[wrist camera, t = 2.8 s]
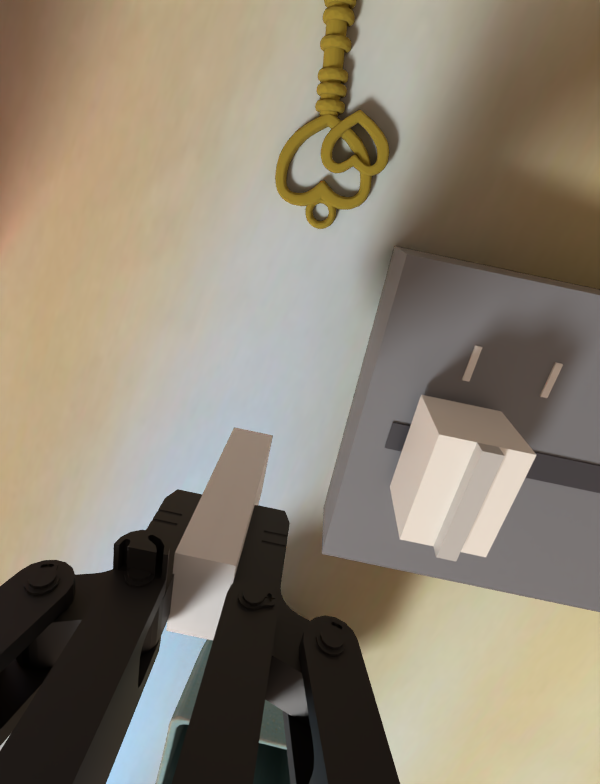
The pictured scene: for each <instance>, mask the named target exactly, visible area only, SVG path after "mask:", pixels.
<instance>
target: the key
mask: <svg viewBox="0 0 600 784" xmlns="http://www.w3.org/2000/svg"><path fill="white" fill-rule="evenodd" d="M324 2H325V6H326V7H327V8H326V9H325V11H324V14H323V21H324V23H325V24H326V36H324V37H323V38H322V40H321V42H320V47H321V49H322V50H323V51H324V60H323V68H322V69H321V70H319V73H318V79H319V81H320V82H322V83H320V84H319V85H318V87H317V94H318V95H319V96H321V97H320V100H318V101H317V103H316V106H315V108H316V110H317V111H318V112H320V116H319V117H318V118H316V119H314V120H312V121H310V122H308V123H307V124H306V125H304V126H303V127H301V128H300V129H298V130H297V131H296V132H295V133H294V134H293V135H292V136H291V138H290V139H289V140H288V141H287V143H286V144H285V146H284V147H283V149H282V151H281V153H280V156H279V159H278V163H277V167H276V176H275V180H276V187H277V191H278V193H279V194H280V196H281V197H282V198H283V199H284V200H285V201H287V202H289V203H290V204H293V205H298V206H306V218H307V221H308V222H309V223H310V224H311V225H312V226H313V227H315V228H318V229H324V228H326V227H328V226H330V225H331V224H332V223H333V221H334V219H335V217H336V209H352V208H355V207H358V206H360V205H361V204H362V203H363V202H364V201H365V200H366V199H367V196H368V194H369V192H370V188H371V180H372V176H373V175H376V174H379V173H380V172H381V171H382V170H383V169H384V168H385V166H386V164H387V162H388V158H389V145H388V142H387V139H386V137H385V135H384V133H383V132H382V131H381V130H380V128H379V127H378V126H377V125H376V124H375V122H374V121H373V120H372V119H370V118H369V117H368V116H367V115H366V114H365V113H364V112H363V111H361V110H358V111H356V112H355V113H353V114H351V115H350V116H348V117H346V118H345V119H344V120H342V121H341V120H340V119H339V118H337V117H338V113H340V114H342V113H343V112H344V110H345V104H344V103H343V102H342V101H340V97H341V98H343V97H345V96H346V92H347V89H346V86H345V85H343V84H344V83H346V82H347V80H348V73H347V71H345V70H344V69H343V63H344V53H348V52H349V51H350V50H351V45H352V43H351V40H350V39H349V38H348V37H346V32H347V26H349V27H350V26H351V25H353V23H354V19H355V16H354V12H353V11H352V10H351V9H353V8H354V6H355V5H356V0H324ZM341 83H343V84H341ZM357 123H359V124H360V125H361V126H362V127H363V128H364V129H365V130H366V131H367V132H368V133H369V135H370V136H371V138H372V139H373V141H374V143H375V145H376V148H377V160H376V162H375V164H373V165H371V163H370V158H369V155H368V152H367V150H366V148H365V146H364V144H363V142H362V140H361V139H360V138H359V137H358V136H357V134H356V133H355V132H354V131H353V130H352V129H351V127H352V126H354V125H356V124H357ZM326 127H330V128H331V130H330V132H329V133H328V134H327V136H326V137H325V139H324V141H323V144H322V149H321V159H322V163H323V165H324V166H325V168H327V169H328V170H329V171H330V172H333V173H341V172H344V171H346V170H348V169H349V168H351V167H353V166H354V167H355V168H356V169H357V170H358V171H359V172H360V179H361V180H360V189H359V191H358V193H357V194H356V195H355V196H352V197H344V196H340V195H338V194H336V193H335V192H334V191H333V190H332V189H331V188H330V187H329V186H328V184H327V183H326V182H325V181H324V180H322V181H320V182H319V183H318V184H317V185H316V186H315V187H314V188H312V189H311V190H309V191H307V192H303V193H296V192H292V191H290V190H289V189H288V187H287V183H286V178H287V172H288V168H289V164H290V162H291V160H292V158H293V156H294V155H295V153H296V152H297V150H298V148H299V147H300V146H301V145H302V144H303V143H304V142H305V141H306V140H307V139H308V138H309V137H311V136H312V135H314V134H315V133H317V132H319V131H321V130H323V129H324V128H326ZM340 137H342V138H343V139H344V140H345V141H346V142H347V144H348V145H349V147H350V148H351V150H352V151H353V153H354V155H352V156H351V157H350V158H349V159H347V160H346V161H344V162H342V163H336V162H334V160H333V159H332V151H333V148H334V145H335V143H336V142H337V140H338V139H339V138H340ZM319 203H323V204H325V205H326V206H327V207H328V209H329V214H328V217H327V219H325V220H323V221H318V220H316V219H315V218H314V216H313V208H314V207H315V205H317V204H319Z"/></svg>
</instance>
